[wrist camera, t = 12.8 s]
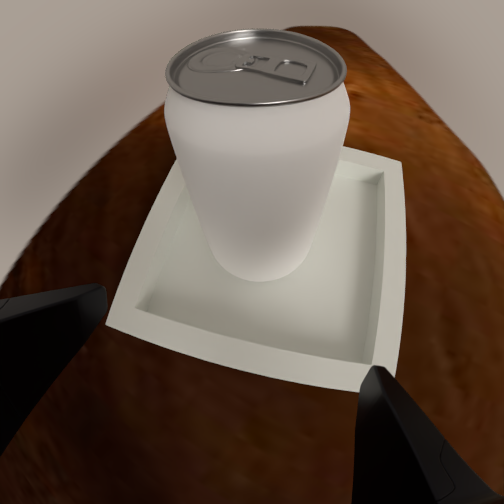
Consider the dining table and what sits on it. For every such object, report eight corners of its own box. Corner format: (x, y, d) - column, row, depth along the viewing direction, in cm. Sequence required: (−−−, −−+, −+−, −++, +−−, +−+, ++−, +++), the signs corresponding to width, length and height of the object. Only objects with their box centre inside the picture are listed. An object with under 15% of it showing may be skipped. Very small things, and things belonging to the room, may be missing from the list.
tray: (373, 393, 14) (391, 395, 12) (124, 332, 16) (105, 324, 14) (390, 181, 21) (401, 162, 18) (201, 145, 23) (196, 123, 21)
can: (233, 183, 20) (212, 21, 9) (322, 211, 19) (367, 45, 8) (192, 262, 17) (109, 101, 7) (292, 300, 16) (344, 144, 5)
